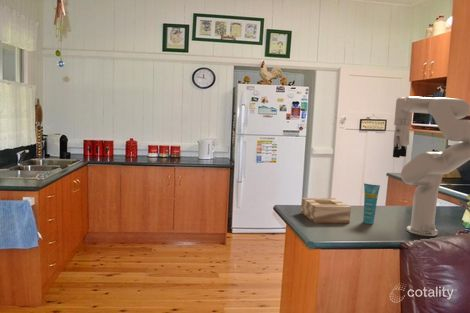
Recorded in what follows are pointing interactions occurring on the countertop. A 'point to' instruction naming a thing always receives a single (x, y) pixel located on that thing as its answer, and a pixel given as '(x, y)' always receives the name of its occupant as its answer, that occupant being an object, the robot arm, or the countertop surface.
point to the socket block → (325, 210)
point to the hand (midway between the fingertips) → (399, 156)
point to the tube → (370, 202)
